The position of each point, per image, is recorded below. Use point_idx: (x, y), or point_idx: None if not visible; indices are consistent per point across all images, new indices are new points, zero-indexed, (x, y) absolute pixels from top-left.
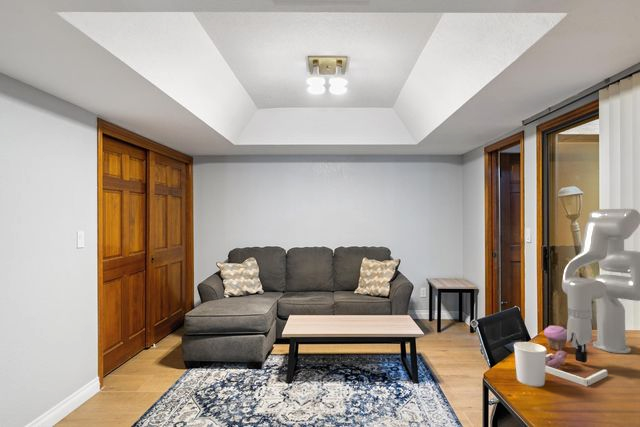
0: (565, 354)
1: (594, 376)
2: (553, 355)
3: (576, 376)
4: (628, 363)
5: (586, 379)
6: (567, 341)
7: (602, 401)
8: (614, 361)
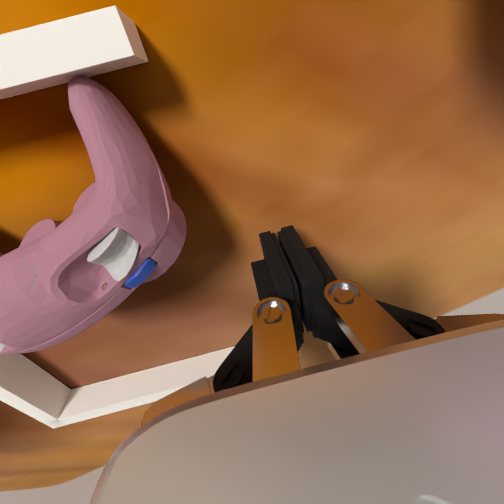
0: (64, 340)
1: (127, 408)
2: (77, 125)
3: (23, 408)
4: (498, 278)
5: (58, 423)
6: (111, 455)
7: (43, 449)
8: (488, 247)
